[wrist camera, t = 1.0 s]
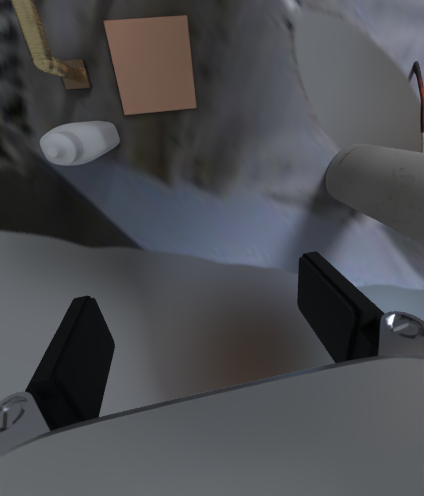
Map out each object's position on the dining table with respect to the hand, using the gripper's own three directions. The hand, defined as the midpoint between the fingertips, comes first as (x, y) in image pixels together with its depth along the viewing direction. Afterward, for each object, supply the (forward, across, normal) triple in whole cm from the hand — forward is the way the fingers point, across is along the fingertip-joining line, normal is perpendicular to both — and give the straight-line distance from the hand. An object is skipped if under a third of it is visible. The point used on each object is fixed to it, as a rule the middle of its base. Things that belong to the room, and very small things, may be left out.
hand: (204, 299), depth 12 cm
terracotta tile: (+24, +1, -12) cm, 27 cm away
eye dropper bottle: (+24, +9, -6) cm, 27 cm away
